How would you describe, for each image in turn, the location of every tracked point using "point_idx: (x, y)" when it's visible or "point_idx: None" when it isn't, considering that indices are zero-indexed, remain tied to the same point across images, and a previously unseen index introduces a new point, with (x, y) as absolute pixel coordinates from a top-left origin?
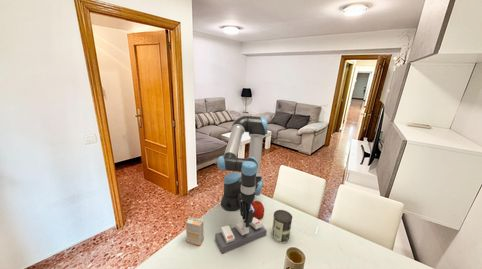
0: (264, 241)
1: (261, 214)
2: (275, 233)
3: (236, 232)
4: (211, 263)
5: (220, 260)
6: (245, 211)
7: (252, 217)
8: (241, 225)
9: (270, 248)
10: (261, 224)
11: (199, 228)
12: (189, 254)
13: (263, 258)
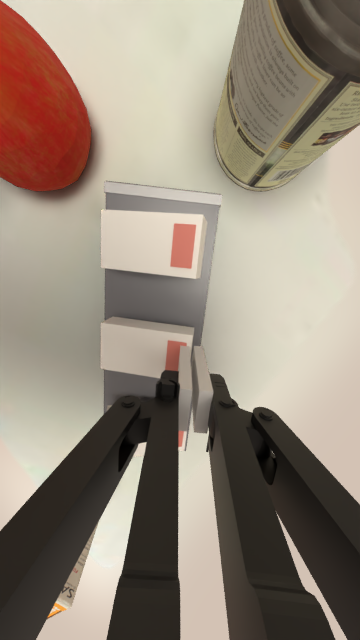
0: (236, 246)
1: (80, 113)
2: (285, 170)
3: None
4: (197, 464)
5: (204, 440)
6: (228, 604)
7: (341, 497)
8: (138, 351)
9: (283, 250)
10: (203, 224)
11: (79, 580)
12: (130, 499)
13: (296, 313)
